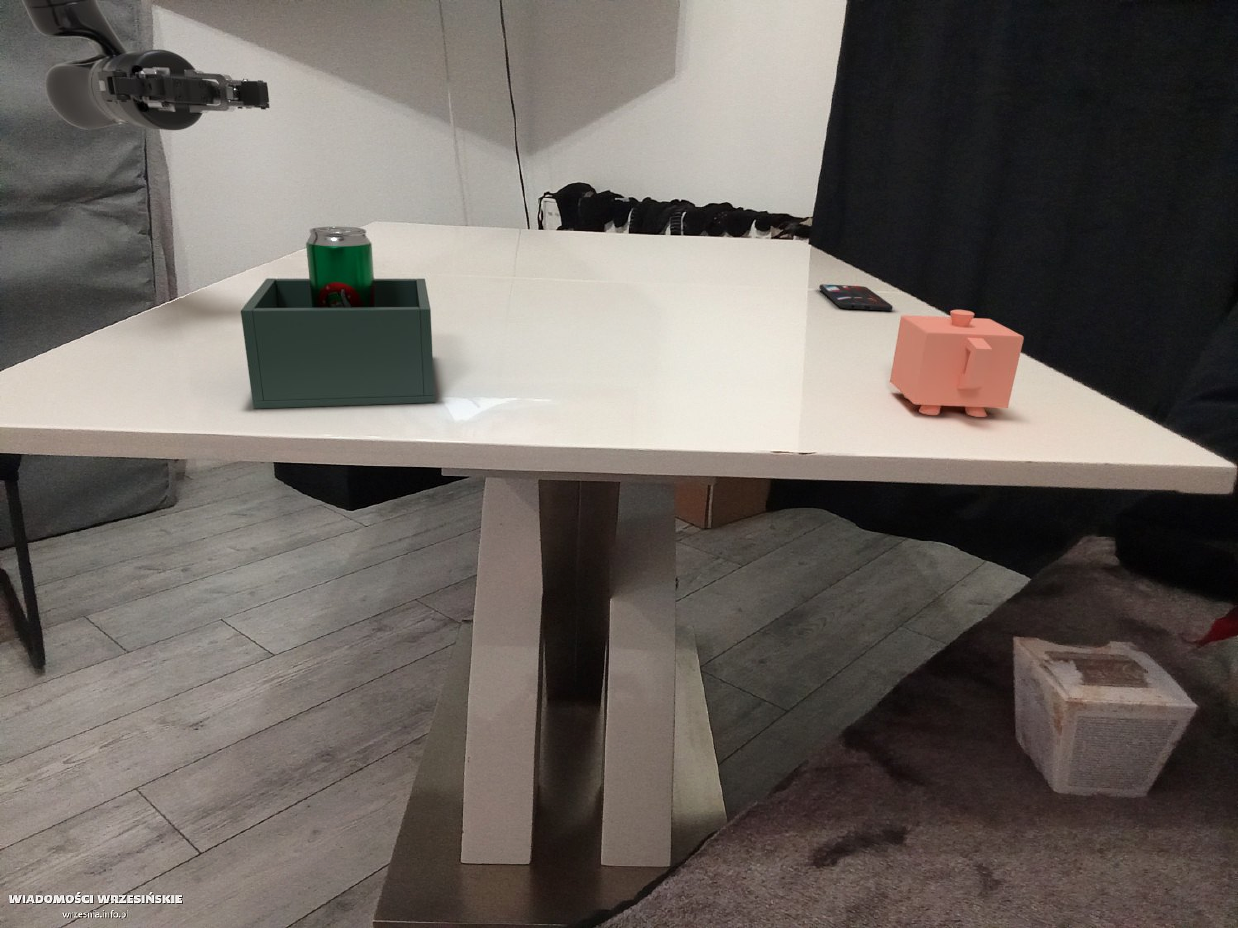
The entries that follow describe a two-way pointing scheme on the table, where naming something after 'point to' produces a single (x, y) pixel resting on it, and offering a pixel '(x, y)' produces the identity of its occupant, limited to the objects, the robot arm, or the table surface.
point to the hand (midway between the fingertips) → (217, 91)
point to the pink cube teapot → (955, 362)
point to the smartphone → (855, 297)
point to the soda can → (340, 268)
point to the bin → (338, 347)
